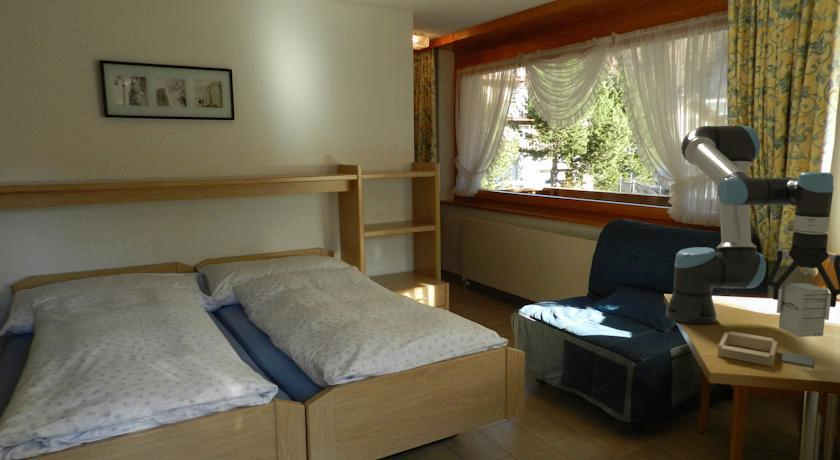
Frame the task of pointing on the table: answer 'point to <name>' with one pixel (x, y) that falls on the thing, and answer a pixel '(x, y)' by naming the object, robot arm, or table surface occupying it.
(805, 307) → the supplement box
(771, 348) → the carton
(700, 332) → the table surface
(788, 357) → the coaster
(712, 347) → the table surface
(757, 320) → the table surface
